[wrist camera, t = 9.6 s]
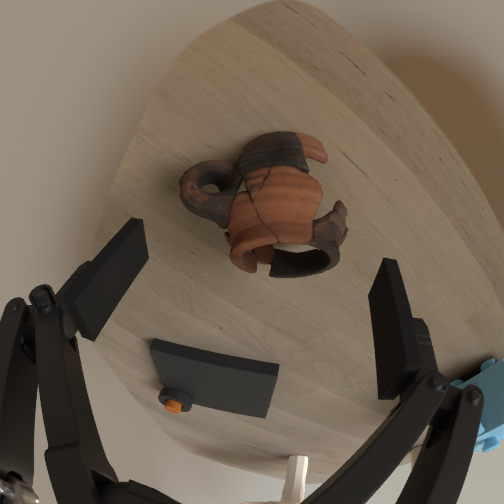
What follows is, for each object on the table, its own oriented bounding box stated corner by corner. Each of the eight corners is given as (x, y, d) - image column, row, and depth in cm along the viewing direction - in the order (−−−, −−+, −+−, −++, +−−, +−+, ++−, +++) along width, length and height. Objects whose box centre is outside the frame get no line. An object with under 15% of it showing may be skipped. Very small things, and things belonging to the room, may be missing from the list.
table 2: (233, 437, 58) (217, 501, 45) (359, 441, 52) (355, 511, 38) (255, 465, 74) (245, 512, 61) (348, 468, 67) (343, 517, 54)
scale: (167, 390, 48) (161, 406, 45) (149, 336, 38) (140, 356, 36) (266, 411, 46) (263, 429, 44) (279, 364, 37) (276, 387, 34)
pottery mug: (362, 143, 20) (382, 245, 17) (310, 206, 28) (313, 289, 25) (196, 99, 17) (169, 206, 14) (183, 182, 26) (167, 270, 22)
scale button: (168, 403, 45) (165, 410, 43) (165, 397, 43) (163, 404, 42) (183, 407, 44) (180, 415, 43) (181, 401, 43) (178, 409, 42)
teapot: (494, 343, 29) (517, 425, 19) (517, 371, 32) (533, 434, 22) (397, 400, 39) (400, 474, 29) (438, 417, 42) (443, 476, 32)
